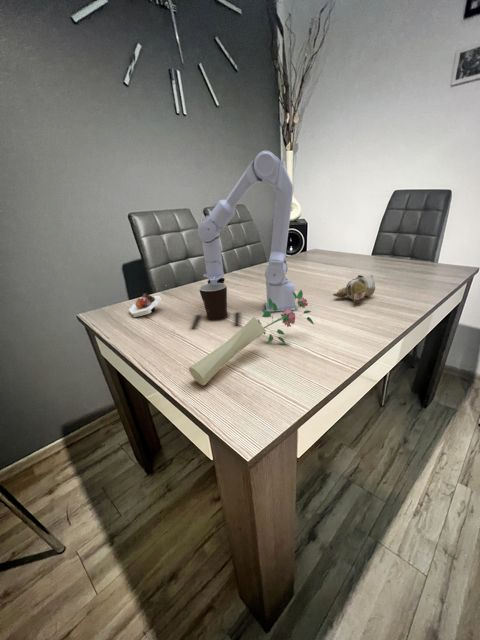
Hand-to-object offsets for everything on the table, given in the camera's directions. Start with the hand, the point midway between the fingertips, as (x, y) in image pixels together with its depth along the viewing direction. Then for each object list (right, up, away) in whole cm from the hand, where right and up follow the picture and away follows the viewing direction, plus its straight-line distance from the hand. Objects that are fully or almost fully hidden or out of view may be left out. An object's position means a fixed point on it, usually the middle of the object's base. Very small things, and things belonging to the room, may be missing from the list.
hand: (218, 299), depth 98 cm
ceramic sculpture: (+50, 0, +1) cm, 50 cm away
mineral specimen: (-25, -5, 0) cm, 26 cm away
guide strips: (+1, -9, -10) cm, 13 cm away
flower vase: (+14, -19, -30) cm, 38 cm away
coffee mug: (+1, -6, -6) cm, 9 cm away
